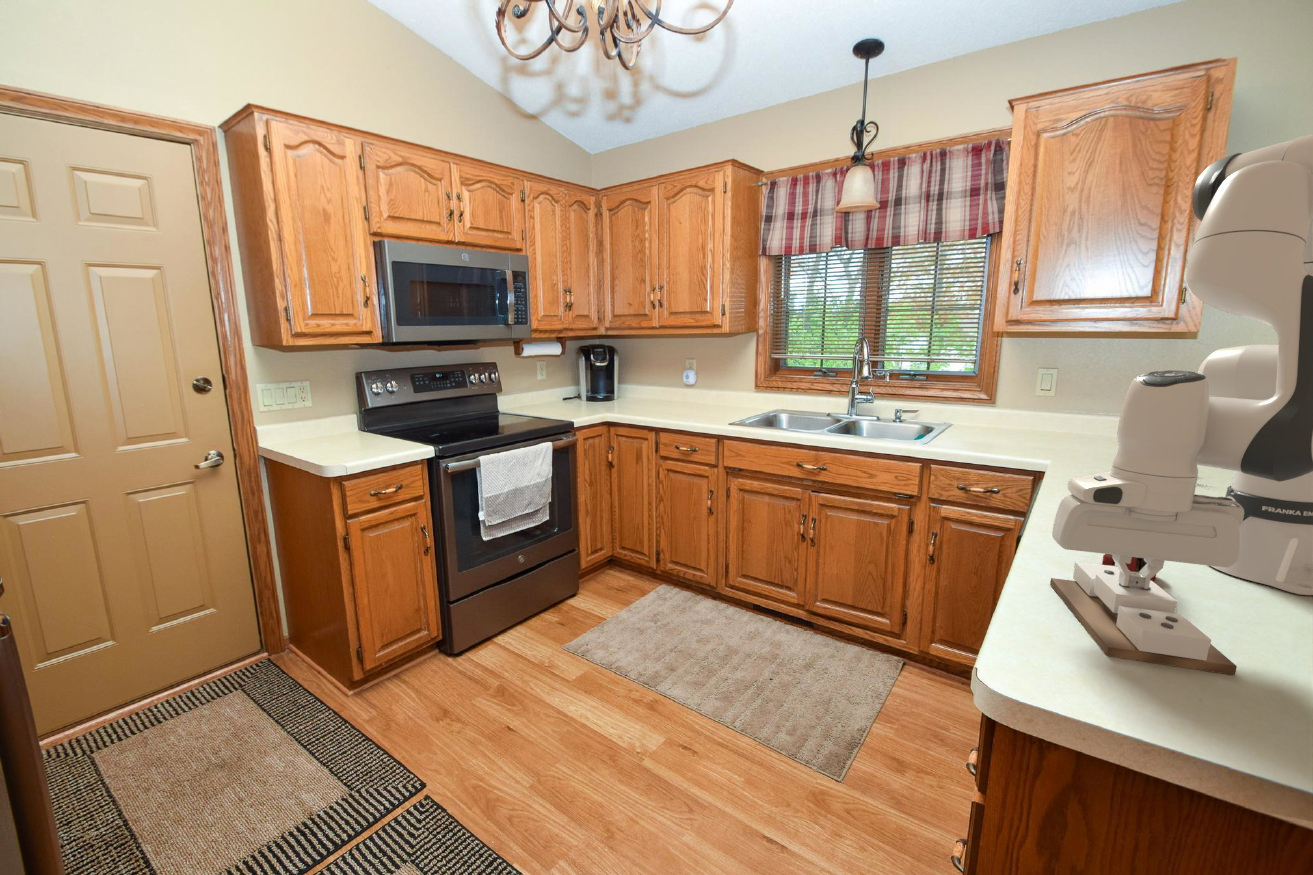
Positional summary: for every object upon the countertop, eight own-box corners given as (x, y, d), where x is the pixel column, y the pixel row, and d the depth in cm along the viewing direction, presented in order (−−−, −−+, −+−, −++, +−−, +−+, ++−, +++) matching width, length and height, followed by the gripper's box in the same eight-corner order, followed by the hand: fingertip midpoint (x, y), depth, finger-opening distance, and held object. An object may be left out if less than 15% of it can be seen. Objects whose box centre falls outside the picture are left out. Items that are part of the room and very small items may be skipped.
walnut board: (1146, 596, 89) (1149, 577, 88) (1234, 675, 68) (1240, 650, 68) (1049, 584, 93) (1052, 566, 92) (1106, 655, 73) (1110, 632, 72)
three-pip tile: (1176, 633, 75) (1180, 612, 75) (1207, 660, 69) (1211, 638, 68) (1115, 624, 77) (1118, 604, 77) (1139, 650, 71) (1143, 628, 70)
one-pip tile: (1122, 583, 90) (1125, 566, 90) (1143, 602, 84) (1146, 583, 83) (1072, 577, 92) (1075, 560, 92) (1088, 595, 86) (1091, 577, 85)
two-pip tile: (1148, 598, 82) (1152, 579, 82) (1173, 620, 76) (1177, 599, 76) (1093, 591, 85) (1096, 572, 84) (1113, 612, 78) (1116, 592, 78)
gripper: (1231, 492, 77) (1212, 588, 79) (1055, 478, 83) (1042, 567, 86) (1262, 505, 71) (1241, 607, 73) (1071, 489, 77) (1057, 583, 80)
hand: (1132, 585), depth 80 cm, fingers closed, pressing on two-pip tile
